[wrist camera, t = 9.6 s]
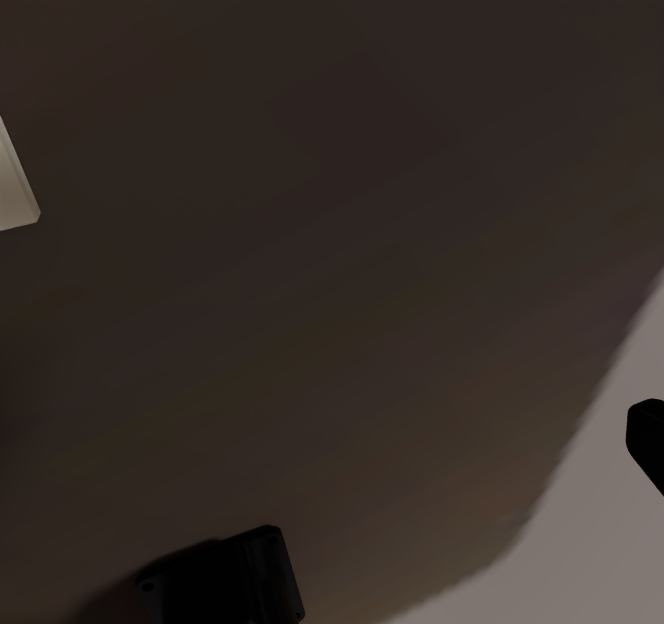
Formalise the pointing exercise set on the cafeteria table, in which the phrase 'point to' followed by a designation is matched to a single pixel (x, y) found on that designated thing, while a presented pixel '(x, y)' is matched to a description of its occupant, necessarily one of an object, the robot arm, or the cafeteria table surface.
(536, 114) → the cafeteria table surface
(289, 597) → the robot arm
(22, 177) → the collar block
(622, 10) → the cafeteria table surface
